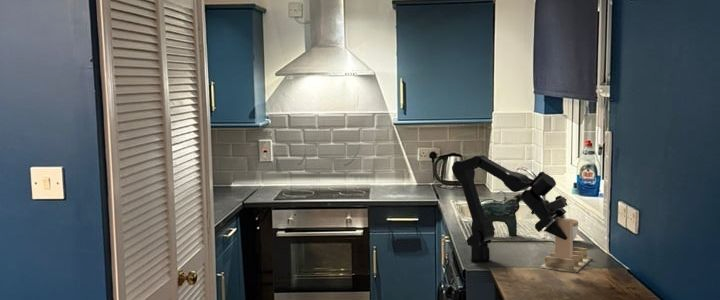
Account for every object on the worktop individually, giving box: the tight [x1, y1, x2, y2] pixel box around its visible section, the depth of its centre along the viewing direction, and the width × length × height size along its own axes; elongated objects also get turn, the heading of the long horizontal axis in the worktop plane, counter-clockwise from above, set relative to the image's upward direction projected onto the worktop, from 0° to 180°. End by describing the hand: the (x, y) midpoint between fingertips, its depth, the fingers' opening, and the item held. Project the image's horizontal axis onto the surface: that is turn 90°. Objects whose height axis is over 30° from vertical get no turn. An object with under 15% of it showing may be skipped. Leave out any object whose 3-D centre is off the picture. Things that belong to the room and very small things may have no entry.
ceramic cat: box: [480, 190, 520, 237], centre depth 283 cm, size 20×6×20 cm, turn 85°
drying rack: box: [539, 246, 593, 273], centre depth 235 cm, size 13×21×4 cm, turn 146°
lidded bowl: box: [547, 217, 579, 244], centre depth 268 cm, size 13×13×11 cm
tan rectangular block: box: [554, 218, 574, 259], centre depth 220 cm, size 4×5×13 cm
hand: (568, 238), depth 219 cm, fingers closed on tan rectangular block, 3 cm apart
